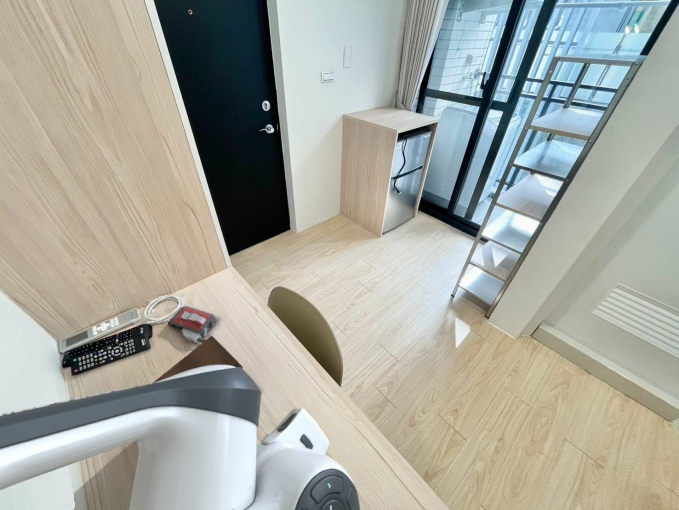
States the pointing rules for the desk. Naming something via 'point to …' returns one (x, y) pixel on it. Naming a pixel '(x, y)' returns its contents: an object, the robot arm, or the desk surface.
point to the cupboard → (203, 358)
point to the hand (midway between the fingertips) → (243, 468)
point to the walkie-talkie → (193, 323)
